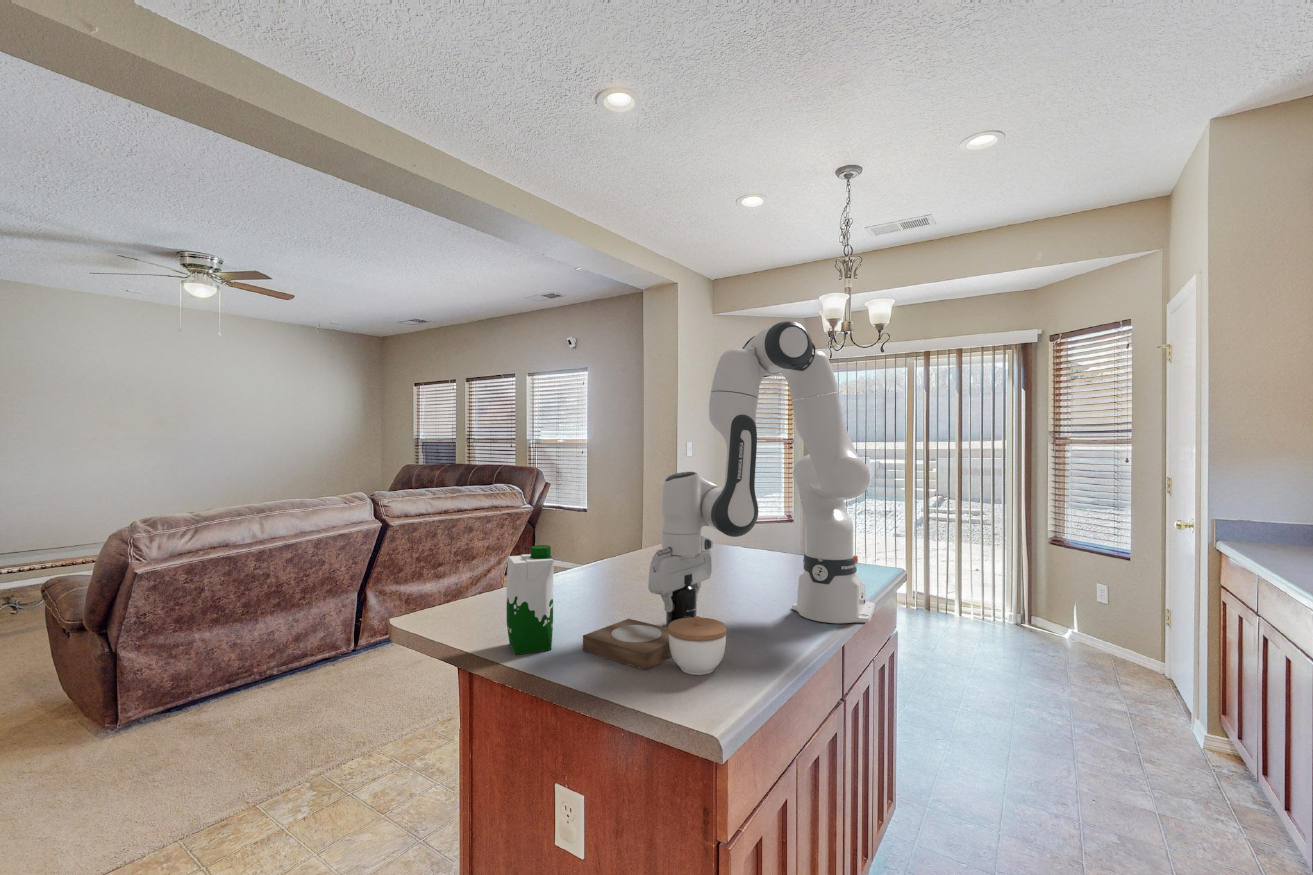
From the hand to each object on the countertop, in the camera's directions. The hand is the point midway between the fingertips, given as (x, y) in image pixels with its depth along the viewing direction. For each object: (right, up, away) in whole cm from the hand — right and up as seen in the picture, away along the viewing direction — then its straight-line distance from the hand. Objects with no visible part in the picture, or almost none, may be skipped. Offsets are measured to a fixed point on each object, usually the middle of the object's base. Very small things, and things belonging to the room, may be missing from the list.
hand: (681, 606), depth 127 cm
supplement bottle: (0, -5, 0) cm, 5 cm away
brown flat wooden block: (-10, -4, -14) cm, 18 cm away
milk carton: (-31, -5, -13) cm, 34 cm away
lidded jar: (+2, -5, -24) cm, 24 cm away
